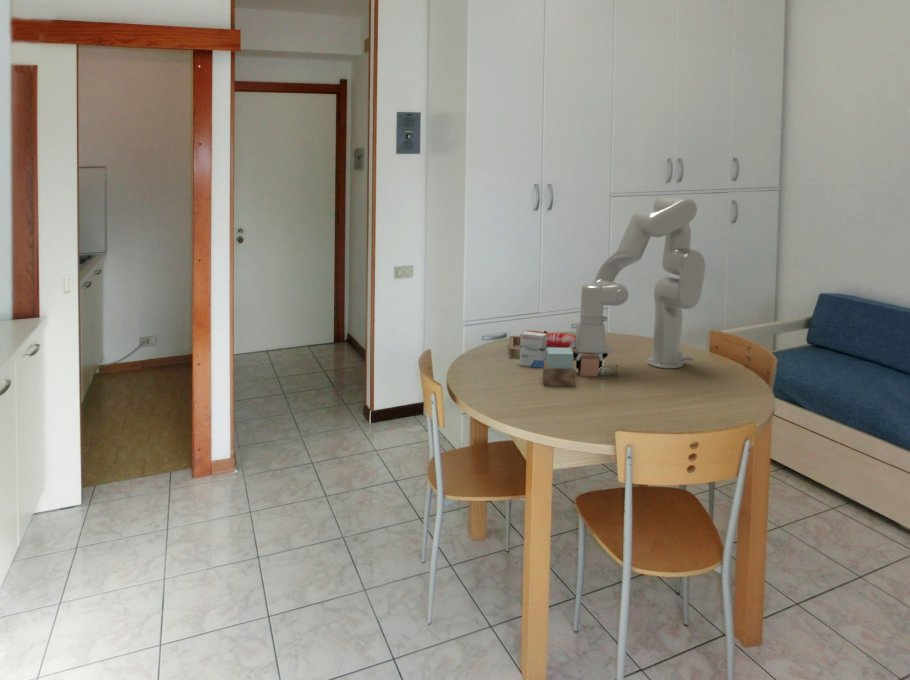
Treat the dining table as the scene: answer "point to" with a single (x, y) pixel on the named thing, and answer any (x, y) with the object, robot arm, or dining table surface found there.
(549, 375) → the walnut block
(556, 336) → the water bottle
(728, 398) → the dining table surface
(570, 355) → the teal block
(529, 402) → the dining table surface
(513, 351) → the bottle cradle
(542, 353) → the ink box
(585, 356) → the rust cube
